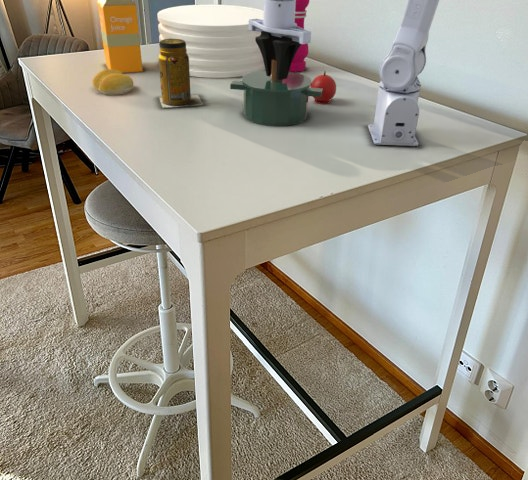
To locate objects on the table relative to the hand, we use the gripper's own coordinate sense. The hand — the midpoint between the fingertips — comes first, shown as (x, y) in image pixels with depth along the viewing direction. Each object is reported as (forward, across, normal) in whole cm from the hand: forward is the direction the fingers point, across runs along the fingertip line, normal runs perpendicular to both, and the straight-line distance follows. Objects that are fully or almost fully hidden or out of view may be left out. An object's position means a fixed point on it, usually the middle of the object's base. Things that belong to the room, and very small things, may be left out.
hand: (276, 77), depth 106 cm
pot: (+7, 0, 0) cm, 7 cm away
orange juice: (+8, +49, +5) cm, 50 cm away
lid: (+1, 0, 0) cm, 1 cm away
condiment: (+8, +18, +10) cm, 22 cm away
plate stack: (+8, +39, -16) cm, 43 cm away
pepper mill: (+8, +23, -28) cm, 37 cm away
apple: (+7, 0, -14) cm, 16 cm away
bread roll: (+8, +35, +16) cm, 39 cm away
